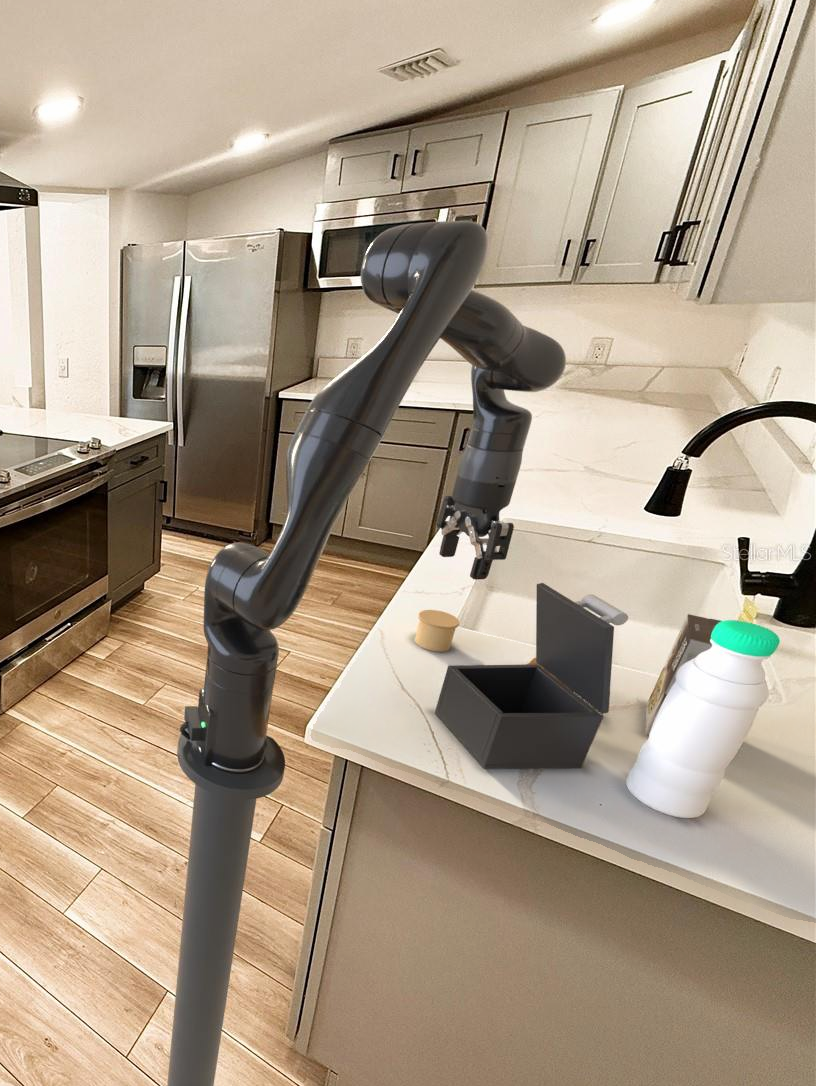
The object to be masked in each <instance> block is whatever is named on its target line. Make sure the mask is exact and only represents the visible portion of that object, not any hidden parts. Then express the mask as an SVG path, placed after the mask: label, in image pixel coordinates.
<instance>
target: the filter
mask: <svg viewBox="0 0 816 1086" xmlns="http://www.w3.org/2000/svg"><path fill="white" fill-rule="evenodd" d="M417 616H418V619H419V621H418V625H417V629H416V633H415V637H414V643H416V645H417V646H419V647H420V648H422V649H424V650H428V651H431V652H437V653H438V652H439V653H443V652H447V651H449V650H450V649H451V646H452V643H453V639H454V635H455V632H456V629H457V628H458V627H459V625H460V620H459V619H458V617H456V616H455V615H453V614H451V613H449V612H446V611H442V610H437V609H425V610H424V609H423V610H421V611H419V613H418V615H417Z"/></svg>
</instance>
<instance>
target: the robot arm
mask: <svg viewBox="0 0 816 1086" xmlns="http://www.w3.org/2000/svg"><path fill="white" fill-rule="evenodd" d="M488 245H489V239H488V233H487V231H486V229H485V227H483V225H481V224H480V223H478V222H475V221H471V220H450V221H449V220H447V221H431V222H417V223H406V224H399V225H396V226H393V227H390V228H388V229H386V230H384V231H382V232H381V233H379V235H378V236H377V237H375V239H374V240H373V241H372V242H371V243H370V245H369V247H368V248H367V250H366V251H365V254H364V257H363V260H362V263H361V268H360V283H361V287H362V290H363V292H364V294H365V296H366V297H367V299H369V301H371V302H372V303H374V304H375V305H378V306H380V307H382V308H384V309H386V310H389V311H391V312H393V313H396V314H398V315H397V316H396V318H395V319H394V320H393V322H392V324H391V326H390V327H389V328H388V329H387V331H386V332H385V334H384V335H383V336H382V337H381V338H380V339H379V341H377V343H375V344H374V345H373V346H371V348H370V349H369V350H368V351H366V352H365V353H364V354H363V355H361V356H360V357H359V358H358V359H357V360H355V361H354V362H353V363H352V364H350V365H349V366H348V367H346V368H345V369H344V370H343V371H341V372H339V374H337V375H336V376H335V377H334V378H333V379H331V380H330V381H329V382H328V383H326V385H324V386H323V388H322V389H320V390H319V391H318V393H317V394H316V395H314V397H313V399H312V400H311V401H310V403H309V405H308V407H307V409H306V411H305V412H304V414H303V416H302V418H301V420H300V422H299V423H298V426H297V428H296V429H295V432H294V434H293V436H292V438H291V440H290V442H289V445H288V448H287V454H286V463H285V464H286V466H285V468H286V469H285V470H286V471H285V472H286V473H285V474H286V491H287V492H286V497H287V500H286V501H287V503H286V504H287V505H286V506H287V507H286V514H285V518H284V522H283V525H282V528H281V530H280V532H279V535H278V537H277V539H276V541H275V544H274V546H273V547H272V549H271V552H268V551H266V550H264V549H262V548H259V547H258V546H256V545H254V544H251V543H247V542H245V541H244V542H243V541H239V542H238V541H237V542H233V543H232V542H231V543H229V544H227V545H226V546H224V547H222V548H221V549H220V550H219V551H218V552H217V553H216V554H215V556H214V557H213V559H212V560H211V562H210V564H209V566H208V569H207V573H206V577H205V583H204V594H203V595H204V596H203V598H204V599H203V634H204V638H205V640H206V643H207V653H206V662H205V663H206V665H205V674H204V685H203V688H200V689H199V692H198V705H190V706H189V705H187V706H185V707H184V715H183V716H184V717H183V719H184V723H182V724H181V725H180V727H179V731H180V734H182V735H183V736H184V737H186V738H187V739H188V740H190V739H191V741H196V742H197V745H198V750H199V753H200V755H201V758H202V761H203V764H204V765H205V766H213V767H215V768H217V769H219V770H221V771H224V772H228V773H235V774H243V773H249V772H252V771H254V770H256V769H258V768H259V767H260V766H261V764H262V763H263V759H264V750H265V747H266V749H267V742H266V735H267V734H268V726H269V720H270V714H271V706H272V700H273V693H274V686H275V680H276V674H277V673H276V672H277V666H278V660H279V653H280V647H279V642H278V640H277V638H276V637H275V635H274V633H273V632H272V630H275V629H276V628H280V627H281V626H282V625H284V623H286V622H287V621H288V620H289V619H290V618H291V616H292V615H293V614H294V613H295V611H296V610H297V608H298V606H300V603H301V602H302V599H303V597H304V595H305V594H306V591H307V589H308V587H309V585H310V582H311V580H312V578H313V576H314V573H315V571H316V569H317V566H318V563H319V561H320V560H321V556H322V554H323V552H324V550H325V548H326V545H327V543H328V540H329V537H330V535H331V533H332V531H333V529H334V527H335V525H336V523H337V521H338V519H339V517H340V515H341V513H342V511H343V510H344V508H345V506H346V504H347V502H348V500H349V498H350V496H351V494H352V492H353V491H354V489H355V487H356V485H357V483H358V482H359V480H360V478H361V477H362V475H363V473H364V471H365V470H366V468H367V467H368V465H369V463H370V461H371V459H372V458H373V456H374V454H375V453H376V450H378V447H379V445H380V443H381V441H382V439H383V438H384V436H385V434H386V432H387V430H388V428H389V425H390V424H391V422H392V420H393V418H394V416H395V414H396V412H397V410H398V409H399V407H400V405H401V403H402V401H403V399H404V398H405V395H406V394H407V393H408V391H409V389H410V387H411V385H412V383H413V382H414V380H415V378H416V376H417V375H418V373H419V371H420V370H421V369H422V366H424V365H423V364H425V361H426V360H427V359H428V357H429V355H430V354H431V352H432V351H433V350H434V348H435V346H436V345H437V343H438V342H439V341H440V339H441V340H442V341H443V342H444V343H446V344H447V345H448V346H450V347H451V348H452V349H453V350H454V351H455V352H456V353H458V354H459V355H460V356H461V357H462V358H463V359H464V360H465V361H466V362H468V363H469V364H470V365H471V369H470V373H471V374H470V380H471V381H470V382H471V392H472V411H473V417H472V418H473V419H472V423H471V426H470V430H469V435H468V438H467V442H466V446H465V449H464V451H463V453H462V455H461V459H460V461H459V462H460V463H459V466H458V470H457V473H456V478H455V481H454V484H453V485H454V486H453V489H452V494H451V495H445V496H444V497H443V500H442V504H441V507H440V511H439V514H438V518H437V521H436V525H435V526H436V528H437V529H441V535H442V540H441V544H440V547H439V548H440V549H439V556H440V557H442V558H453V557H454V556H456V552H457V548H458V544H459V541H460V535H461V534H462V533H465V535H466V536H468V537H469V541H470V544H471V545H472V546H474V550H475V557H474V560H473V563H472V566H471V570H470V574H469V577H470V578H471V579H472V580H476V581H477V580H486V579H487V578H488V576H489V573H490V571H491V568H492V564H493V561H499V560H500V561H503V560H506V559H507V556H508V552H509V549H510V545H511V540H512V536H513V533H514V528H515V526H514V523H513V522H503V521H501V520H500V512H501V511H502V510H503V509H505V508H506V507H508V506H509V505H510V504H511V500H512V497H513V494H514V490H515V486H516V483H517V480H518V476H519V473H520V470H521V466H522V461H523V452H524V448H525V445H526V441H527V439H528V435H529V431H530V428H531V425H532V420H533V414H532V412H531V411H530V410H529V409H527V408H525V407H523V406H519V405H517V404H514V403H512V402H510V401H509V400H508V399H507V395H506V393H505V391H512V392H513V391H514V392H520V393H538V392H541V391H542V392H543V391H545V390H547V389H549V388H551V387H552V386H553V385H555V384H556V383H557V382H558V381H559V380H560V379H561V377H562V376H563V374H564V372H565V370H566V365H567V357H566V352H565V350H564V348H563V347H562V345H561V344H560V343H559V342H558V341H557V340H556V339H554V338H552V337H551V336H549V335H548V334H545V333H544V332H543V333H542V332H540V331H539V330H537V329H534V328H532V327H530V326H529V327H528V326H527V325H523V324H522V322H521V321H520V320H519V319H518V318H517V317H516V316H515V314H513V313H512V311H510V309H509V308H508V307H506V306H505V305H504V304H503V303H502V302H499V301H498V300H496V299H494V298H492V297H490V296H488V295H486V294H484V293H481V292H478V291H476V290H474V289H473V288H474V286H475V284H476V283H477V281H478V279H479V276H480V274H481V271H482V269H483V267H484V264H485V262H486V261H485V260H486V256H487V253H488ZM447 517H449V519H448V520H446V519H447ZM485 536H488V537H487V538H484V537H485ZM484 545H485V546H486V548H484ZM497 547H499V549H497ZM484 549H485V550H484ZM186 728H187V729H188V732H189V733H187V732H186V731H185V729H186Z"/></svg>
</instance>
